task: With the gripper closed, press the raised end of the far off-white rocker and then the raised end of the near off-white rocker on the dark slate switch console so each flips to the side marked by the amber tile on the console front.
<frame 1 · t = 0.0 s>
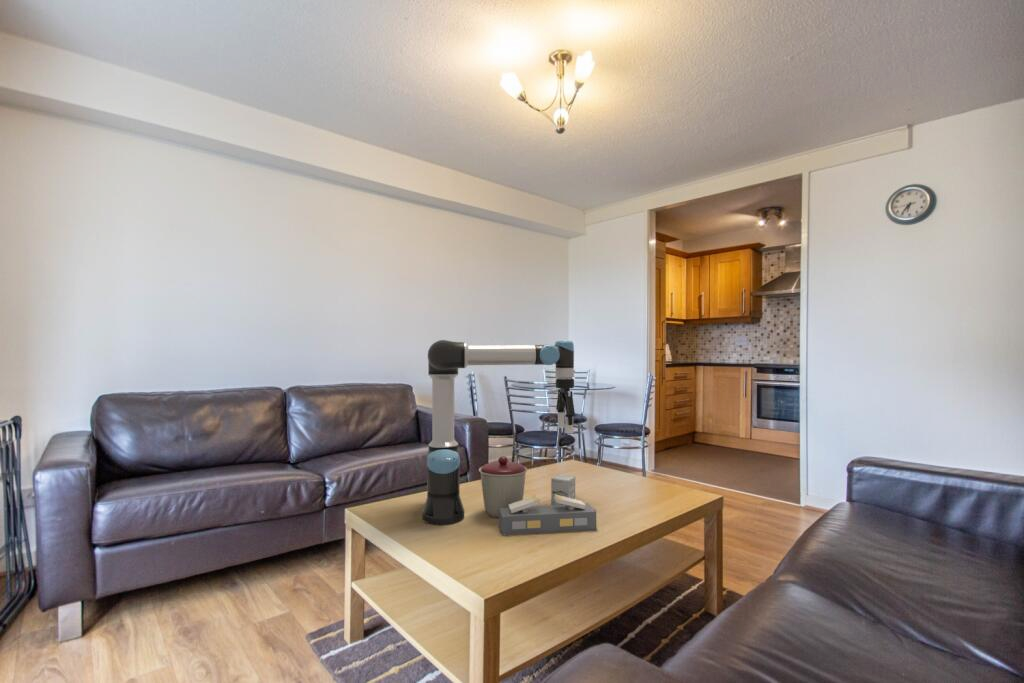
hand: (565, 430, 193), 28 cm above the table, tool pointing down, fingers open, 13 cm apart
rocker far: (569, 501, 163), point 8 cm above the table, hinge at 16.0°
rocker near: (523, 503, 161), point 8 cm above the table, hinge at -16.0°
canister: (503, 514, 176), on the table
supplement box: (563, 510, 179), on the table
console: (547, 527, 162), on the table
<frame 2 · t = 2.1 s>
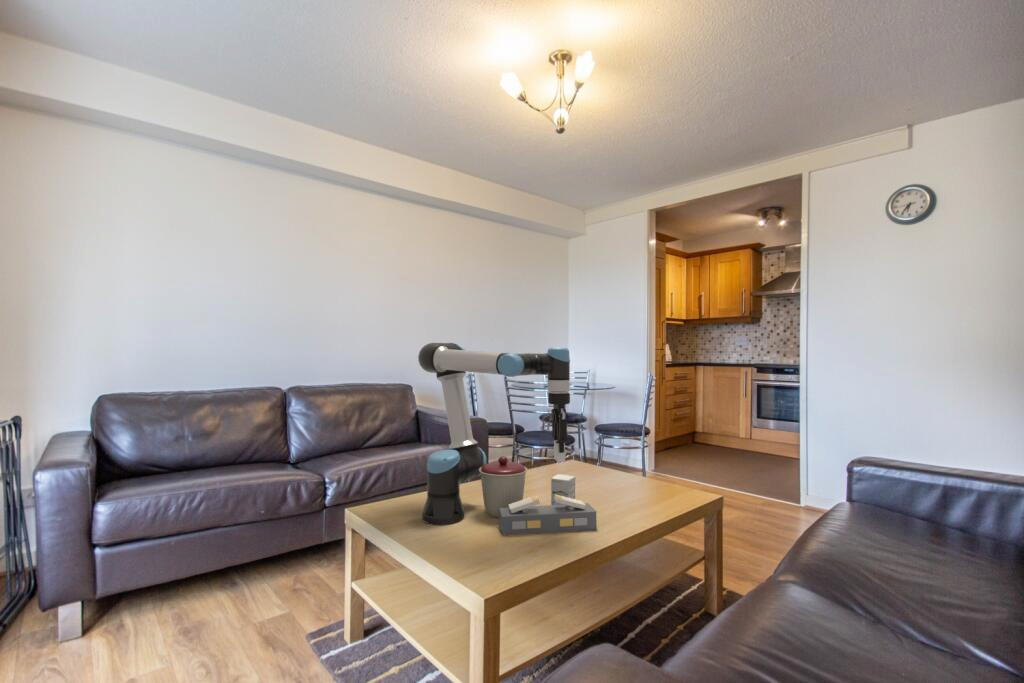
hand: (559, 460, 163), 23 cm above the table, tool pointing down, fingers open, 3 cm apart
nothing on the table moved.
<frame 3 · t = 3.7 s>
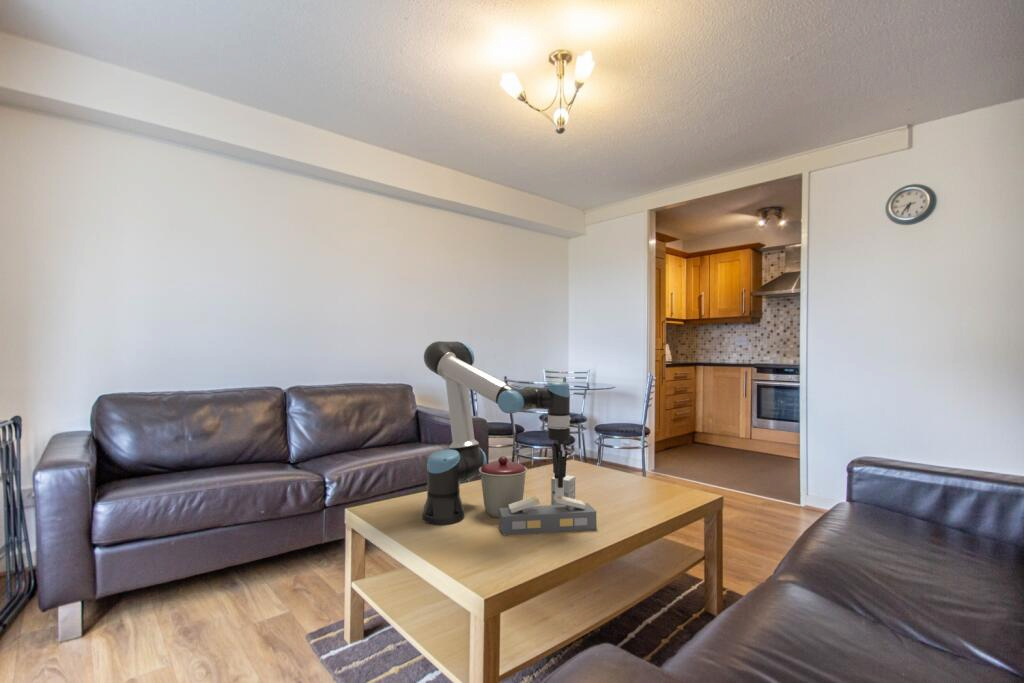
hand: (559, 496, 163), 10 cm above the table, tool pointing down, fingers closed
rocker far: (569, 501, 163), point 8 cm above the table, hinge at 15.5°, touching gripper
everything else where it was.
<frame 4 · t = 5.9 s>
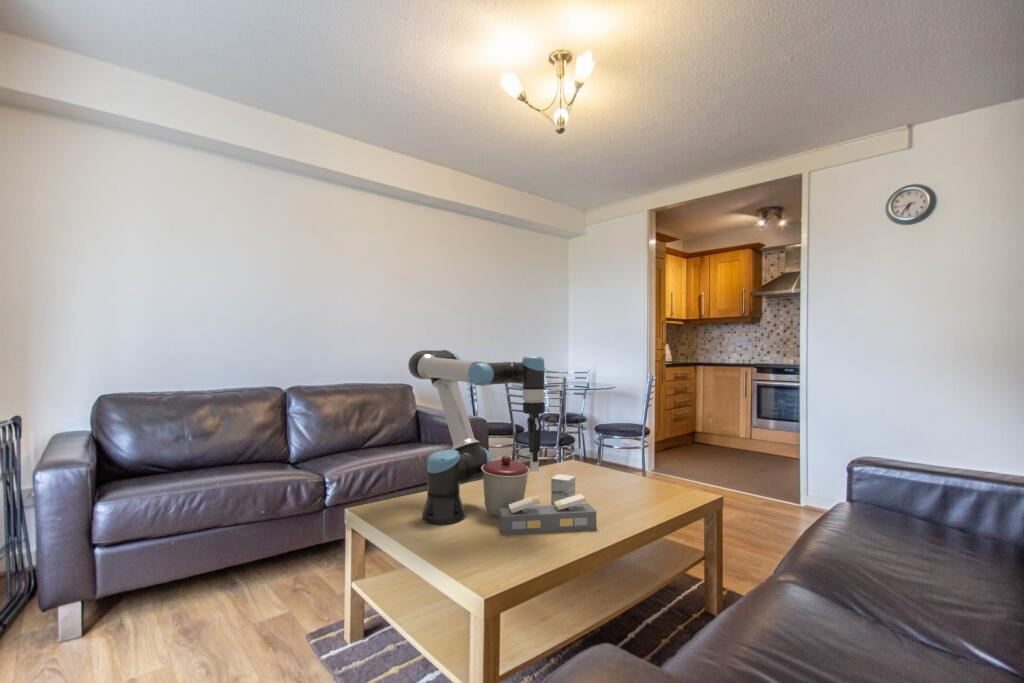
hand: (534, 470, 162), 19 cm above the table, tool pointing down, fingers closed
rocker far: (569, 501, 163), point 8 cm above the table, hinge at -13.7°
canister: (503, 512, 176), on the table, touching arm
everything else where it was.
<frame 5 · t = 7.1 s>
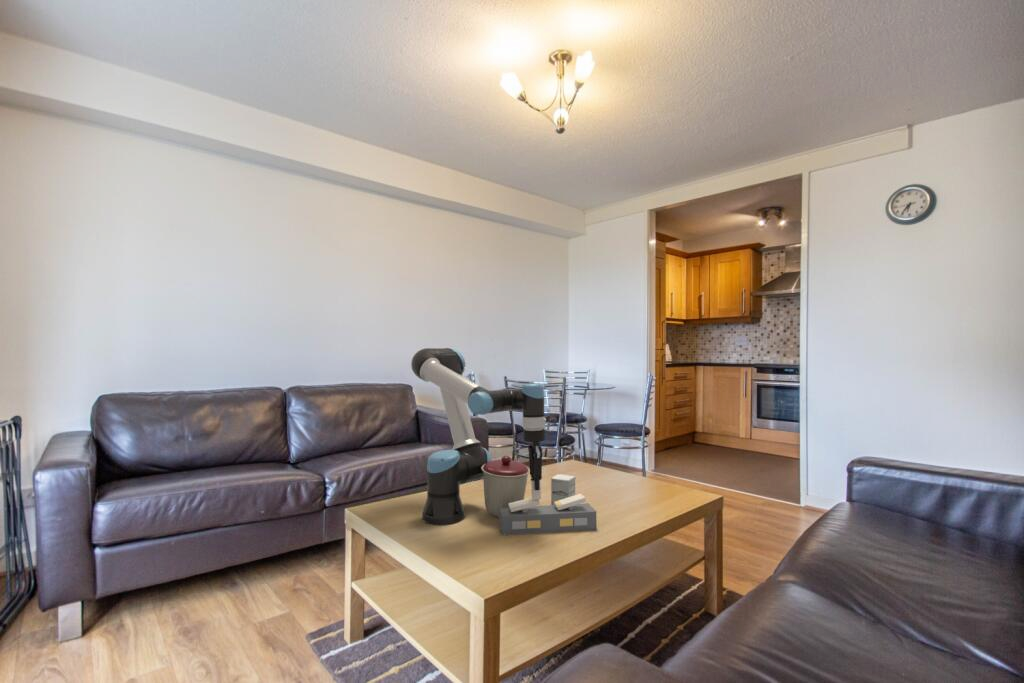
hand: (536, 498, 161), 10 cm above the table, tool pointing down, fingers closed, pressing on rocker near
rocker far: (569, 501, 163), point 8 cm above the table, hinge at -14.4°
rocker near: (523, 503, 161), point 8 cm above the table, hinge at -11.1°, touching gripper
everything else where it was.
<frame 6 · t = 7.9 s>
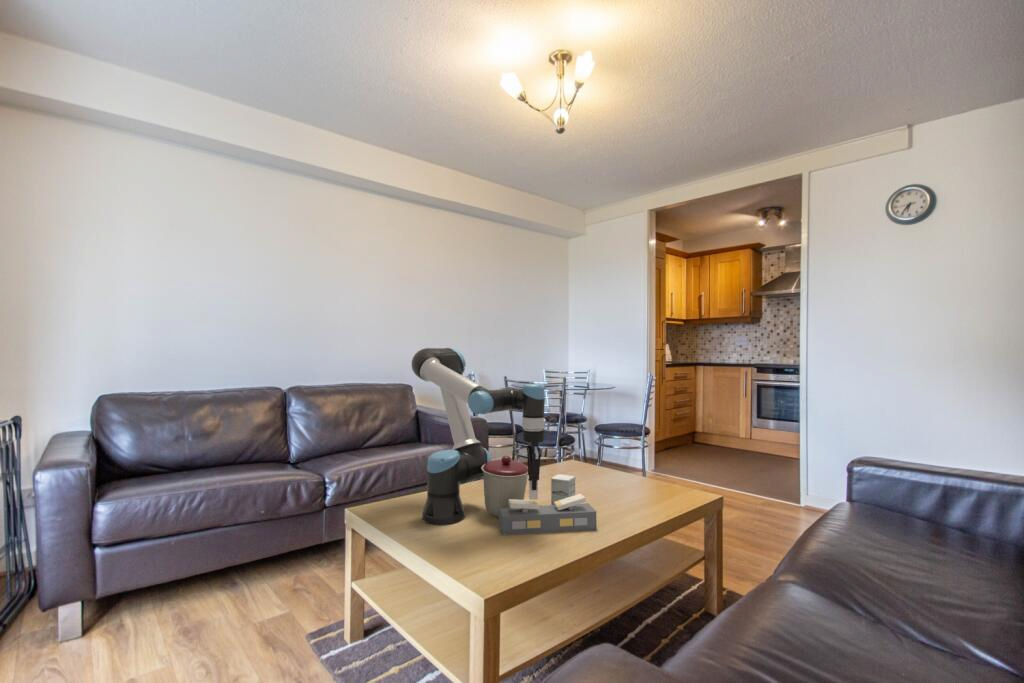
hand: (533, 498, 162), 10 cm above the table, tool pointing down, fingers closed
rocker near: (523, 503, 161), point 8 cm above the table, hinge at 5.8°
everything else where it was.
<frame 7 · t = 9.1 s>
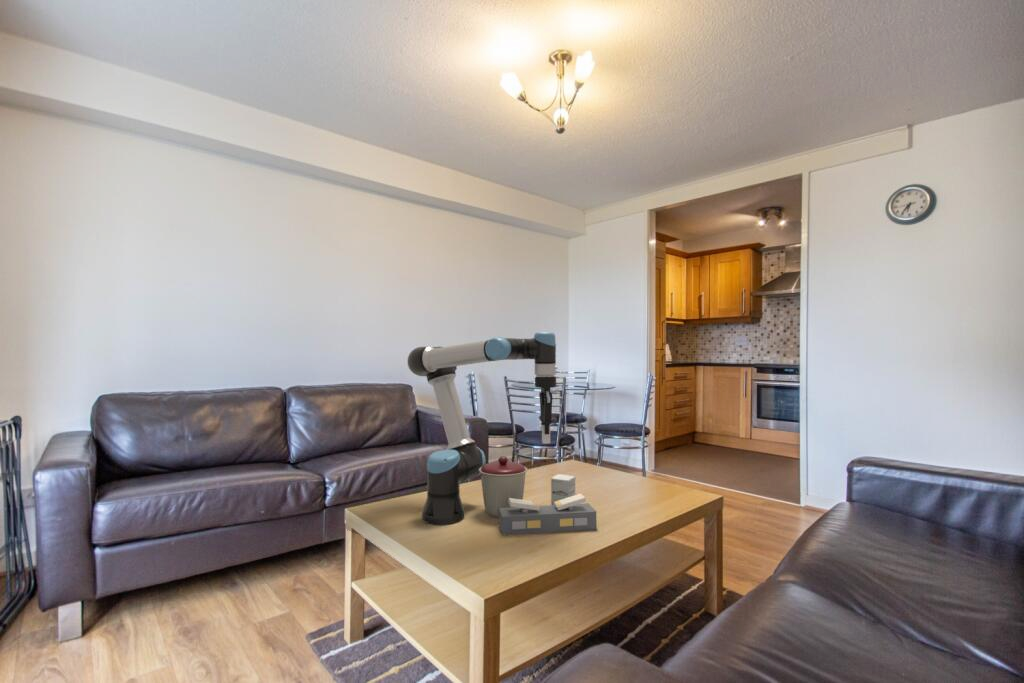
hand: (546, 443, 167), 28 cm above the table, tool pointing down, fingers closed
rocker near: (524, 503, 161), point 8 cm above the table, hinge at 10.4°
canister: (503, 514, 176), on the table
everything else where it was.
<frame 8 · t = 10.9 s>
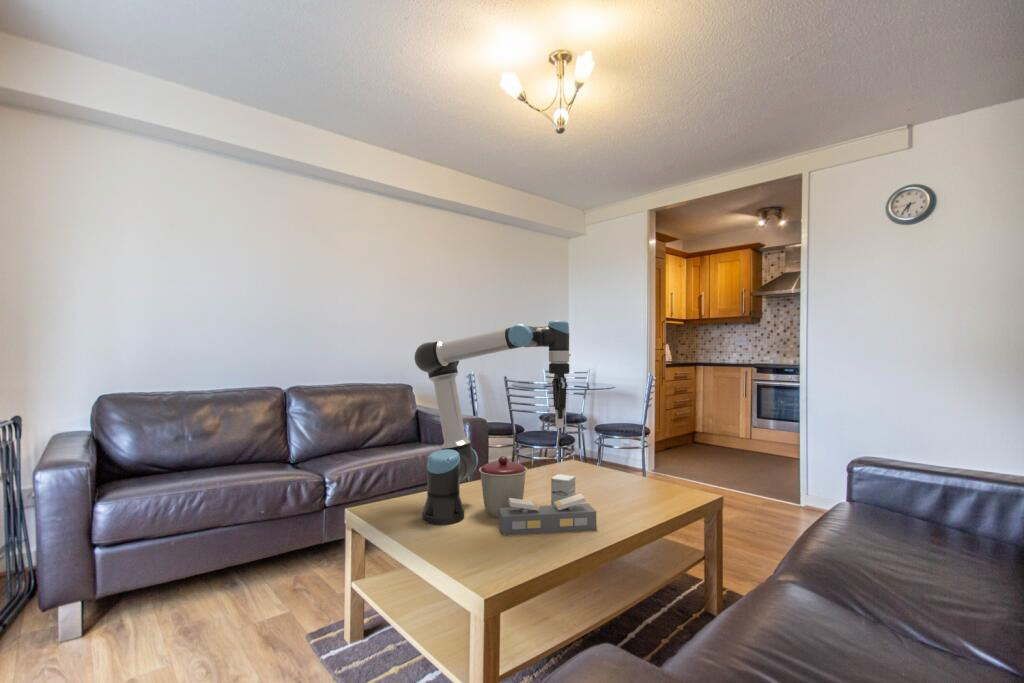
hand: (559, 427, 173), 32 cm above the table, tool pointing down, fingers closed
rocker near: (524, 503, 161), point 8 cm above the table, hinge at 11.2°
everything else where it was.
at the end: rocker far at -14° (first picture: +16°); rocker near at +11° (first picture: -16°) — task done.
